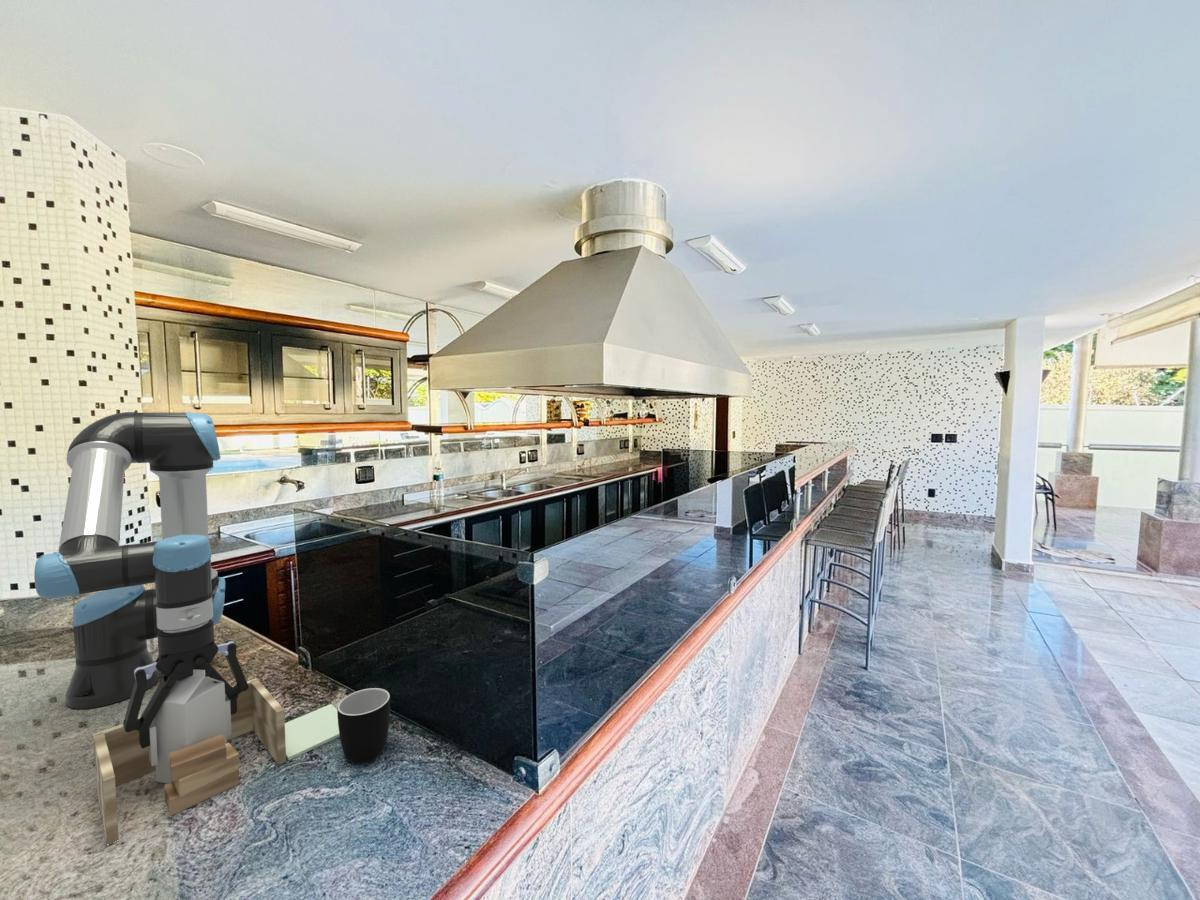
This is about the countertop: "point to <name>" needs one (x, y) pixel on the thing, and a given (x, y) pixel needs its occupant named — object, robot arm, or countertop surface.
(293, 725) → the mat
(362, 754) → the mug
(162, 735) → the milk carton
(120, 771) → the frame
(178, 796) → the offcut stack
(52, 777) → the countertop surface
